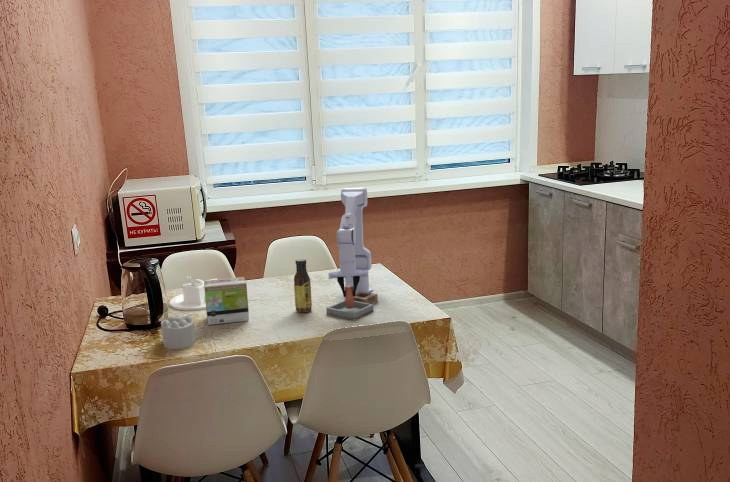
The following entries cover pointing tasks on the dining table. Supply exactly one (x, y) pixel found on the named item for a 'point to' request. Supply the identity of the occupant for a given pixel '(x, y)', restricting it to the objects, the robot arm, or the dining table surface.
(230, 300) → the tea box
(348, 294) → the pin
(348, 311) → the tray
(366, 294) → the pin block
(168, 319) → the white bowl of pebbles
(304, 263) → the sauce bottle
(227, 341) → the dining table surface
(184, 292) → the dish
